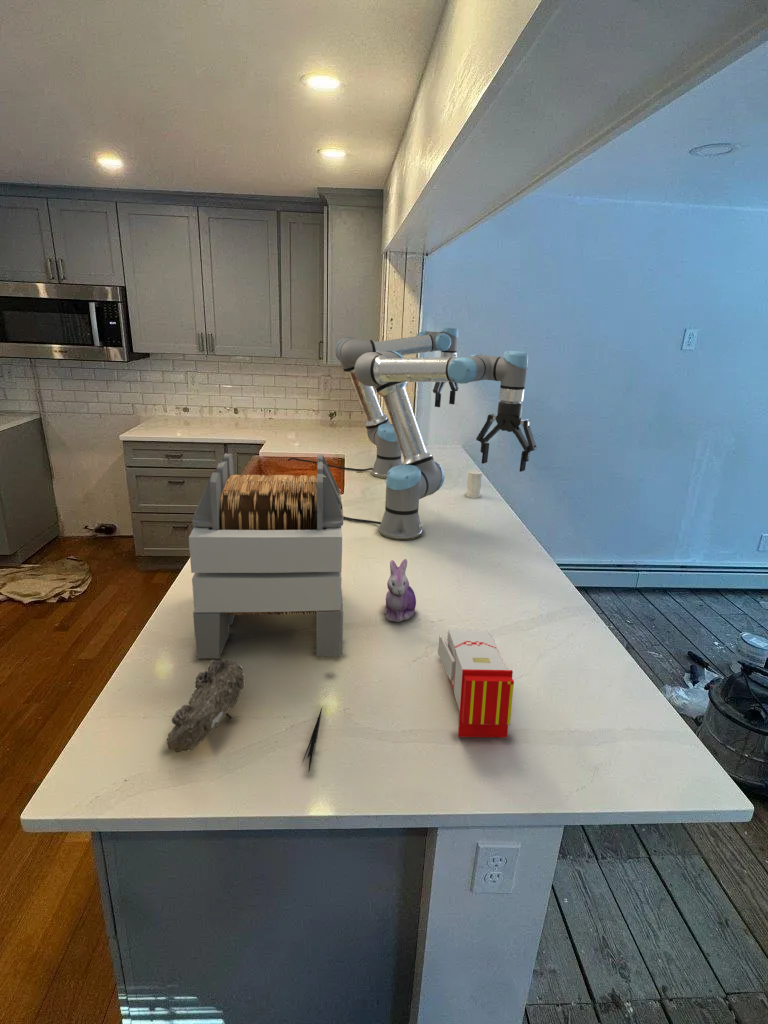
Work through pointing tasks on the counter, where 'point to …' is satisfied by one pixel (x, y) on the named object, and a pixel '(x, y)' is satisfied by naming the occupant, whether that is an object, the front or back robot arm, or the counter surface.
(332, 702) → the counter surface
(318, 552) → the transformer
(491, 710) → the toy
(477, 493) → the canister
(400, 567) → the figurine
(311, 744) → the feather
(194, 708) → the fossil
